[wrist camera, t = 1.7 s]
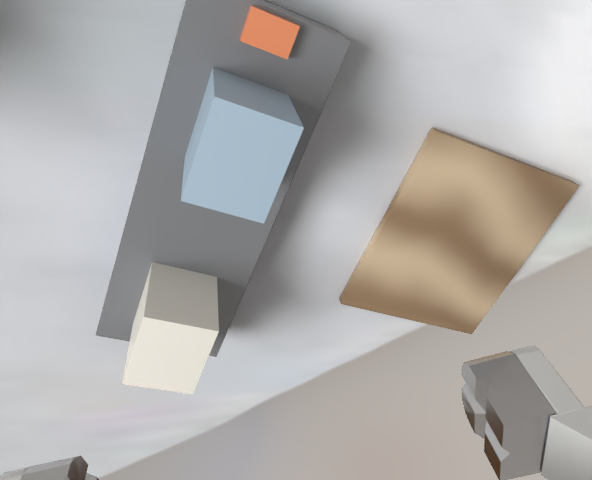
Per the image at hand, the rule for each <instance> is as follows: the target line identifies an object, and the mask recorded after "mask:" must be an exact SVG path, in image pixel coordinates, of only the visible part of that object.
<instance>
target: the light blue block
mask: <svg viewBox="0 0 592 480" xmlns="http://www.w3.org/2000/svg"><path fill="white" fill-rule="evenodd" d="M303 129H304V127H303V125H302V123H301V121H300V118H299V116H298V114H297V112H296V110H295V108H294V106H293V104H292V102H291V100H290V98H289V96H288V95H287V94H285V93H282V92H279V91H276V90H274V89H271V88H268V87H266V86H263V85H260V84H257V83H255V82H252V81H249V80H247V79H244V78H241V77H238V76H236V75H233V74H230V73H228V72H225V71H222V70H219V69H217V68H214V67H213V68H212V71H211V75H210V78H209V81H208V84H207V87H206V91H205V94H204V97H203V100H202V103H201V107H200V110H199V113H198V116H197V120H196V123H195V126H194V129H193V132H192V136H191V139H190V142H189V145H188V148H187V152H186V155H185V159H184V171H183V182H182V193H181V201H183V202H187V203H190V204H194V205H197V206H201V207H205V208H208V209H212V210H216V211H219V212H223V213H227V214H230V215H234V216H238V217H241V218H245V219H249V220H252V221H256V222H259V223H263V224H264V222H265V220H266V218H267V215H268V213H269V210H270V208H271V206H272V203H273V201H274V198H275V196H276V194H277V191H278V189H279V186H280V184H281V182H282V179H283V177H284V174H285V172H286V170H287V167H288V165H289V162H290V160H291V158H292V155H293V153H294V151H295V148H296V146H297V143H298V141H299V139H300V136H301V134H302V131H303Z"/></svg>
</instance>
